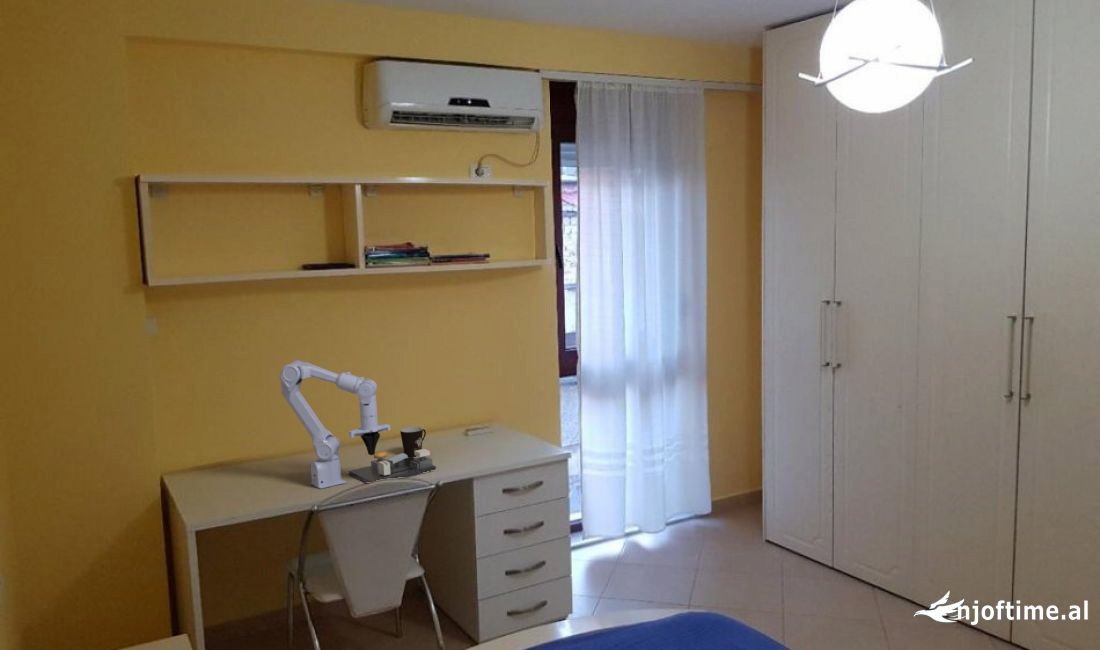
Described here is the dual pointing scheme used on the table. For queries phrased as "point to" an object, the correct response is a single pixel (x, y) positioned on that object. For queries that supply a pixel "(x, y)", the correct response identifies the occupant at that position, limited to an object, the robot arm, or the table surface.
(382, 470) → the slider knob
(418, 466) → the panel
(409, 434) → the coffee mug
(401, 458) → the rocker
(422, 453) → the square button
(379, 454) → the round button
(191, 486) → the table surface
